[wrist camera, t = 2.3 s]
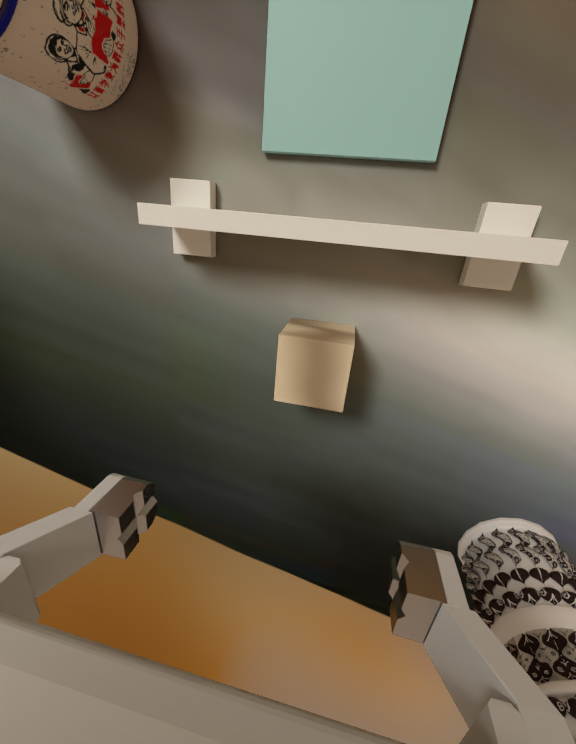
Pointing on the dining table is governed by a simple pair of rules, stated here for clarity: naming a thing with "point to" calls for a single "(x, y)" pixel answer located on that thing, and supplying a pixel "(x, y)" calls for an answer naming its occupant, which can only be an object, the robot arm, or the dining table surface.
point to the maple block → (314, 363)
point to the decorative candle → (527, 601)
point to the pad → (361, 76)
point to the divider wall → (363, 233)
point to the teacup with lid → (70, 48)
